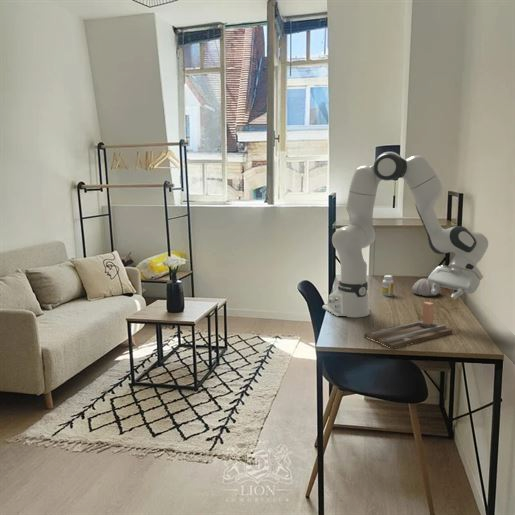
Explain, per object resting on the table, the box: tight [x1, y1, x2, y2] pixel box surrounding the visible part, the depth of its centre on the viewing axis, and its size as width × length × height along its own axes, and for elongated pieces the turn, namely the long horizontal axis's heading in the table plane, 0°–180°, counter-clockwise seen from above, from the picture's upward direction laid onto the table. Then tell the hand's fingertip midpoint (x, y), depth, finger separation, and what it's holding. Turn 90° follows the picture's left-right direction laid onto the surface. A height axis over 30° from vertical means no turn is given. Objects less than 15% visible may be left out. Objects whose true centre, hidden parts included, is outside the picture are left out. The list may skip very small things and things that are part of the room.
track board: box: [363, 319, 453, 349], centre depth 173 cm, size 14×31×2 cm, turn 119°
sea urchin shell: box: [411, 277, 442, 297], centre depth 231 cm, size 13×14×8 cm
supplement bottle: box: [381, 274, 395, 297], centre depth 230 cm, size 5×5×10 cm
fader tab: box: [419, 301, 438, 328], centre depth 176 cm, size 5×4×9 cm
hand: (442, 295), depth 179 cm, fingers open, 8 cm apart
